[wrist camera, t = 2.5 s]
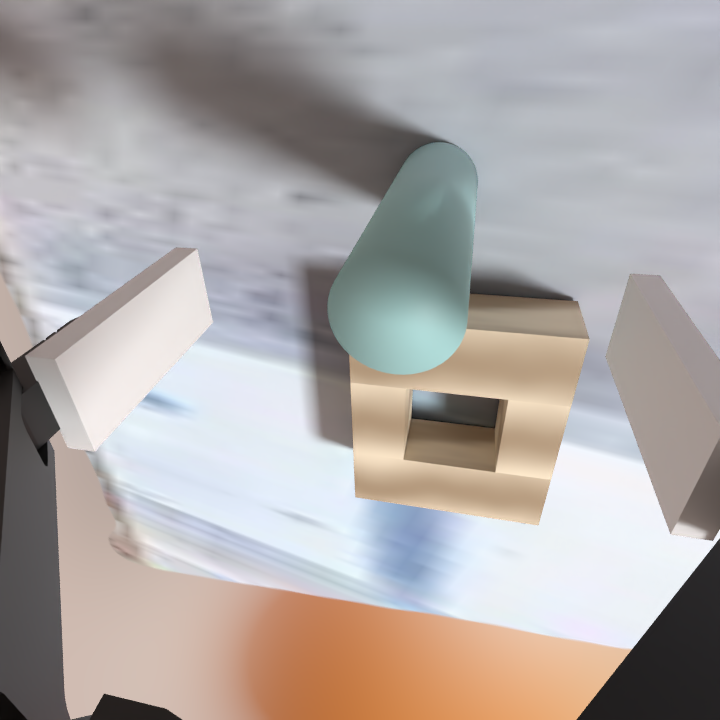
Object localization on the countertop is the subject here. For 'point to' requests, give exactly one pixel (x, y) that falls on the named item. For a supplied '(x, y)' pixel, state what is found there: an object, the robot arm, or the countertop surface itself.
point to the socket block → (473, 443)
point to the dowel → (411, 267)
